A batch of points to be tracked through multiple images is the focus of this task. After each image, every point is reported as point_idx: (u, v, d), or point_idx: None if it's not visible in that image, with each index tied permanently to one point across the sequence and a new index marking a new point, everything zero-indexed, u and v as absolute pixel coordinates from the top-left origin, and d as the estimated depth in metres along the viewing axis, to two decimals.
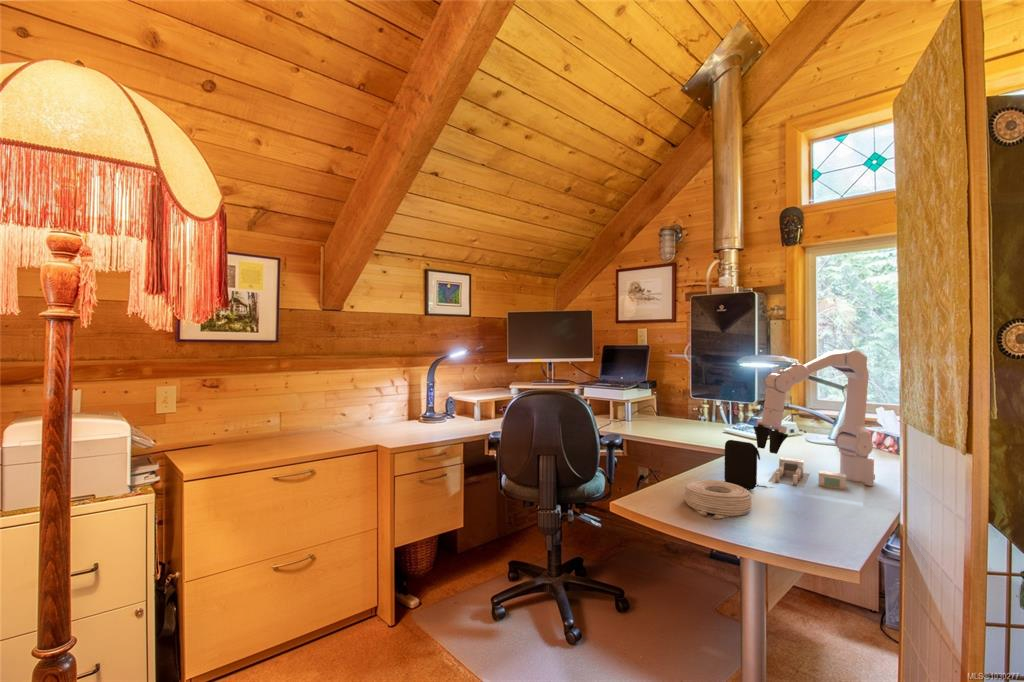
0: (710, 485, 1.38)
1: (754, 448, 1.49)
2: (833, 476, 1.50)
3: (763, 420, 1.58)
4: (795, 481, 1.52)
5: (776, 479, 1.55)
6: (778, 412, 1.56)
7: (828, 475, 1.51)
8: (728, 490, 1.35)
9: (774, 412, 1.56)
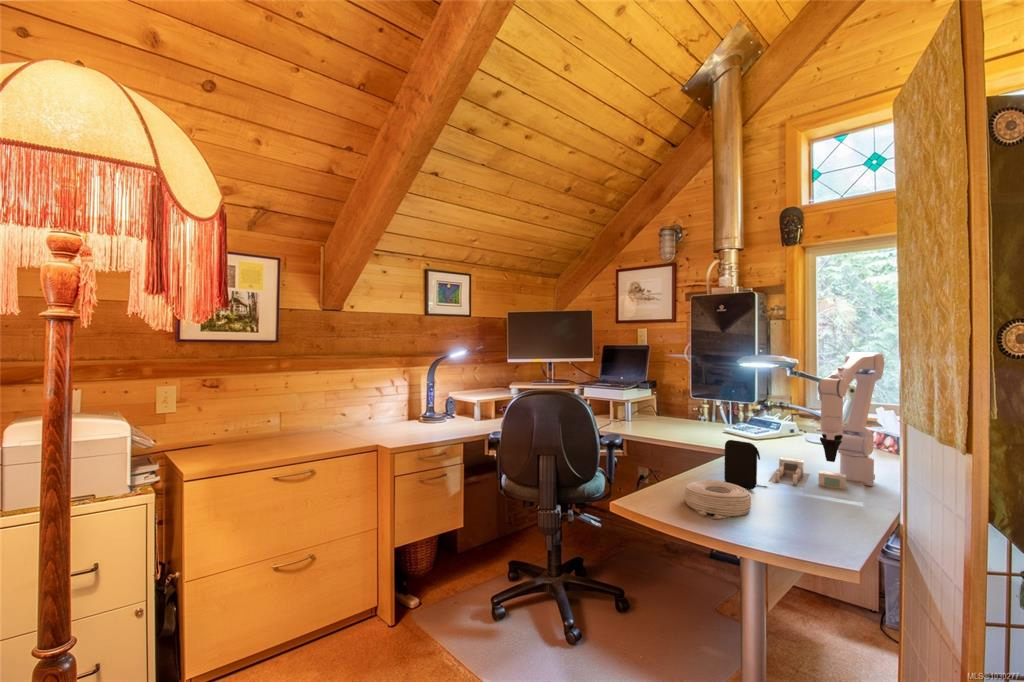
0: (710, 485, 1.38)
1: (754, 447, 1.49)
2: (833, 476, 1.50)
3: (821, 427, 1.54)
4: (795, 481, 1.52)
5: (776, 479, 1.55)
6: (831, 419, 1.50)
7: (828, 475, 1.51)
8: (728, 490, 1.35)
9: (827, 419, 1.51)
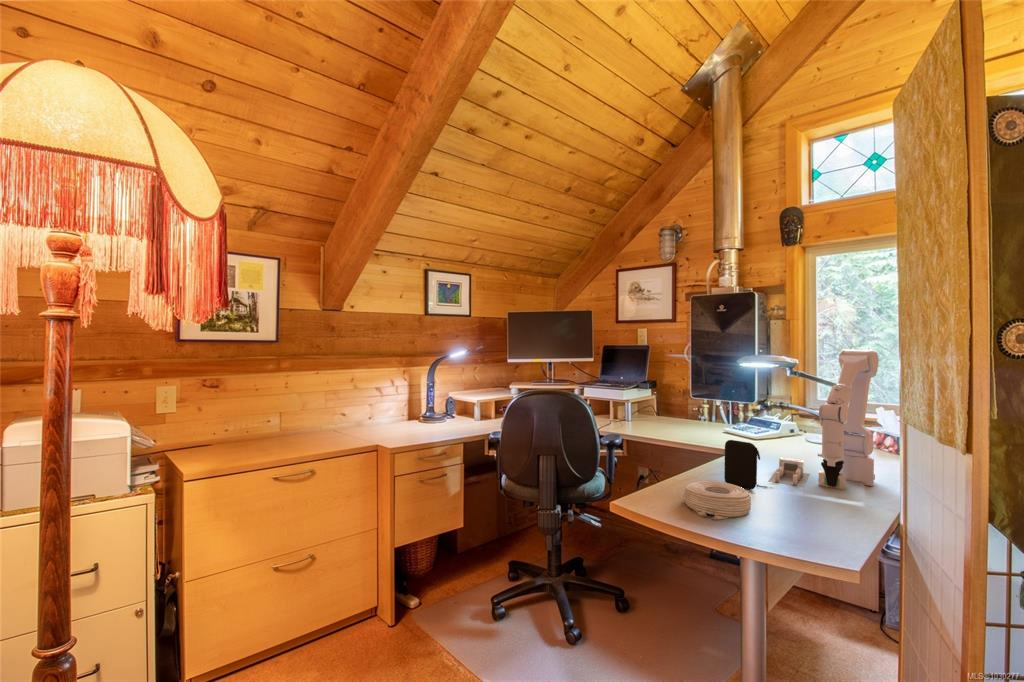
0: (710, 486, 1.38)
1: (754, 448, 1.49)
2: None
3: (822, 452, 1.54)
4: (795, 481, 1.52)
5: (776, 479, 1.55)
6: (832, 445, 1.50)
7: None
8: (728, 491, 1.35)
9: (828, 444, 1.51)
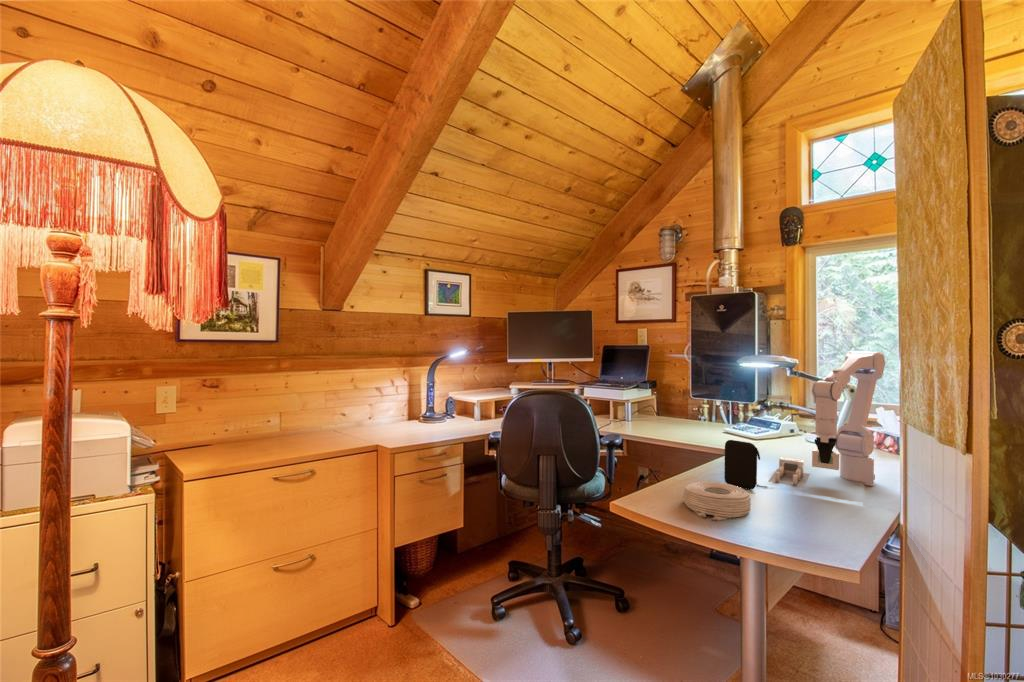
0: (709, 486, 1.37)
1: (754, 448, 1.49)
2: None
3: (815, 430, 1.54)
4: (795, 481, 1.52)
5: (776, 479, 1.55)
6: (825, 422, 1.51)
7: None
8: (727, 491, 1.34)
9: (821, 421, 1.51)
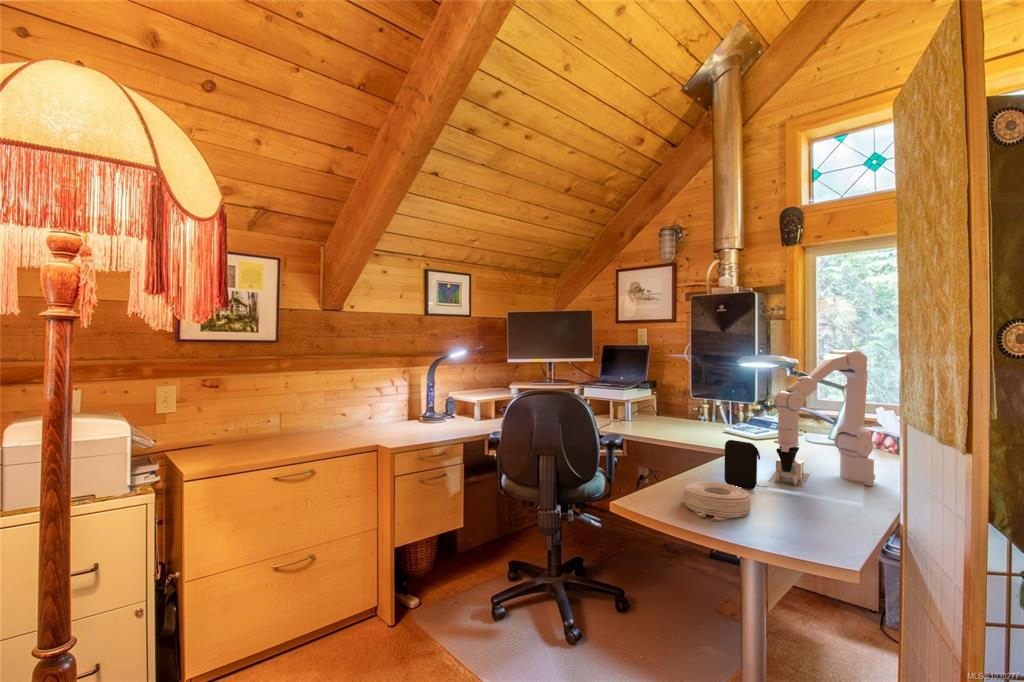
0: (709, 487, 1.37)
1: (754, 448, 1.49)
2: None
3: (778, 439, 1.58)
4: (795, 481, 1.52)
5: (776, 479, 1.55)
6: (787, 431, 1.55)
7: None
8: (727, 492, 1.34)
9: (783, 431, 1.55)
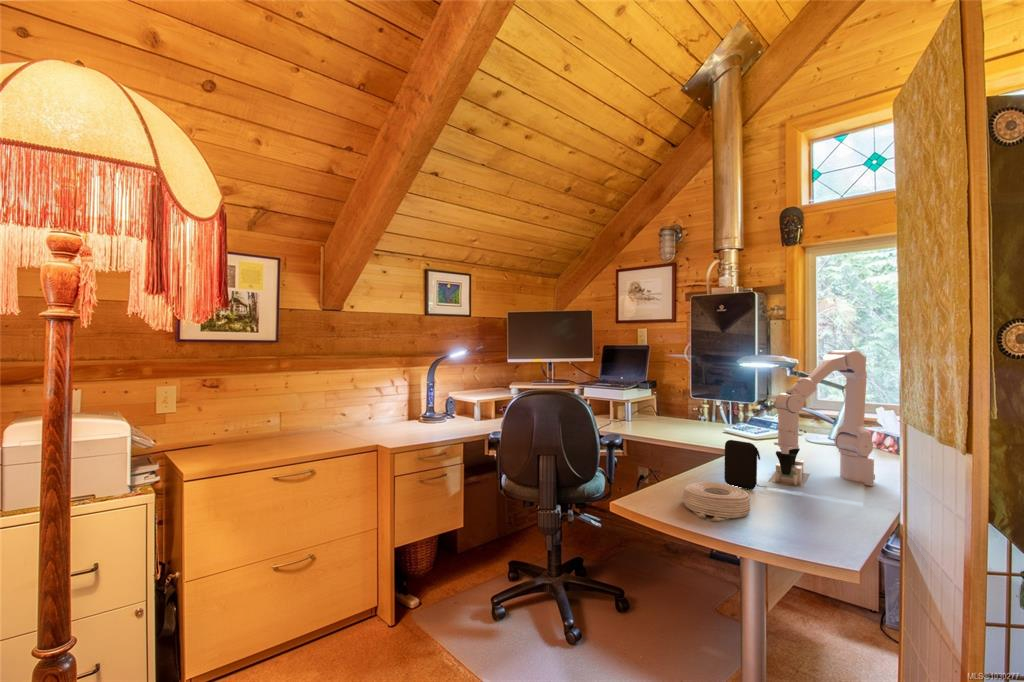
0: (709, 487, 1.37)
1: (754, 448, 1.49)
2: None
3: (778, 441, 1.58)
4: (795, 481, 1.52)
5: (776, 479, 1.55)
6: (787, 433, 1.55)
7: None
8: (727, 492, 1.34)
9: (783, 433, 1.55)
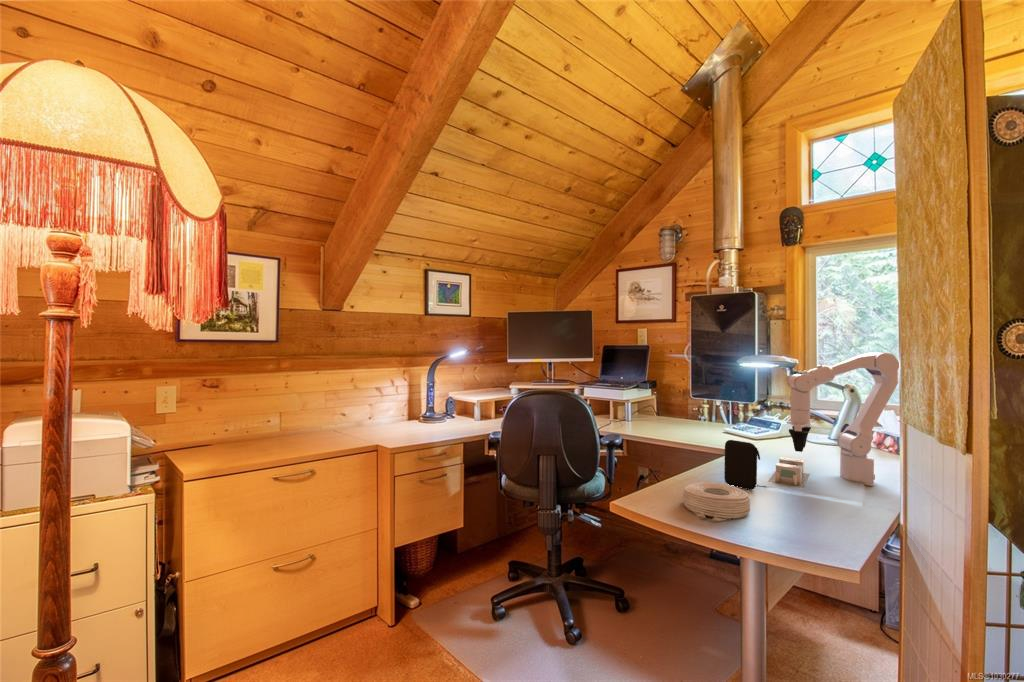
0: (708, 487, 1.36)
1: (754, 447, 1.49)
2: (789, 468, 1.55)
3: None
4: (795, 481, 1.52)
5: (776, 479, 1.55)
6: (799, 412, 1.62)
7: (784, 467, 1.56)
8: (727, 492, 1.33)
9: (795, 412, 1.62)
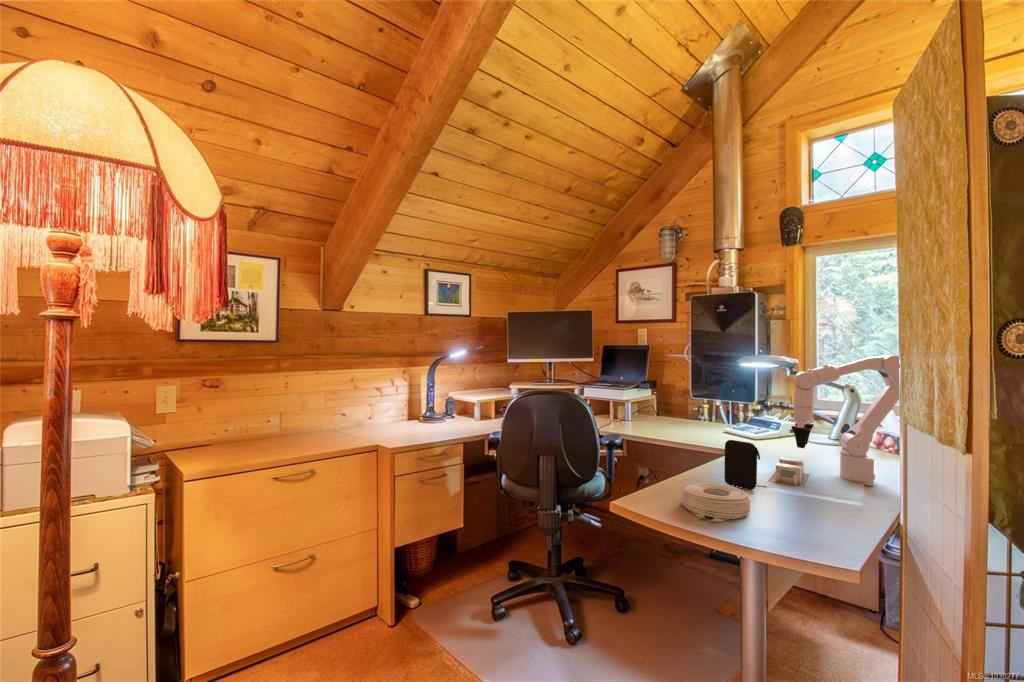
0: (708, 488, 1.36)
1: (754, 448, 1.49)
2: (789, 468, 1.55)
3: None
4: (795, 481, 1.52)
5: (776, 479, 1.55)
6: (802, 409, 1.64)
7: (784, 467, 1.56)
8: (726, 493, 1.33)
9: (799, 409, 1.65)
